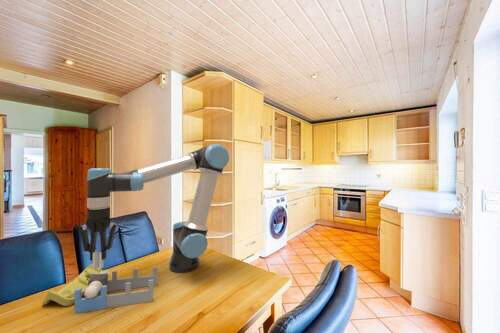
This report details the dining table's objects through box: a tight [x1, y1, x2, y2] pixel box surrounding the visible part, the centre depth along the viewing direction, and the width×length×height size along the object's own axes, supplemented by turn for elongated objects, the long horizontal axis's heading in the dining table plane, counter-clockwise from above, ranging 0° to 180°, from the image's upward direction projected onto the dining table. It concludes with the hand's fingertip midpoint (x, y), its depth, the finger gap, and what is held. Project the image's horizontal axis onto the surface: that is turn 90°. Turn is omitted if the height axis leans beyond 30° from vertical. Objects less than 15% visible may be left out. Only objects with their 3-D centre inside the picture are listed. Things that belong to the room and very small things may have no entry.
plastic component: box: [41, 264, 103, 307], centre depth 91 cm, size 20×7×10 cm
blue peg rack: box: [73, 265, 159, 314], centre depth 87 cm, size 26×13×8 cm, turn 106°
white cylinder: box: [83, 269, 111, 298], centre depth 85 cm, size 16×5×5 cm, turn 16°
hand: (98, 267), depth 85 cm, fingers closed
